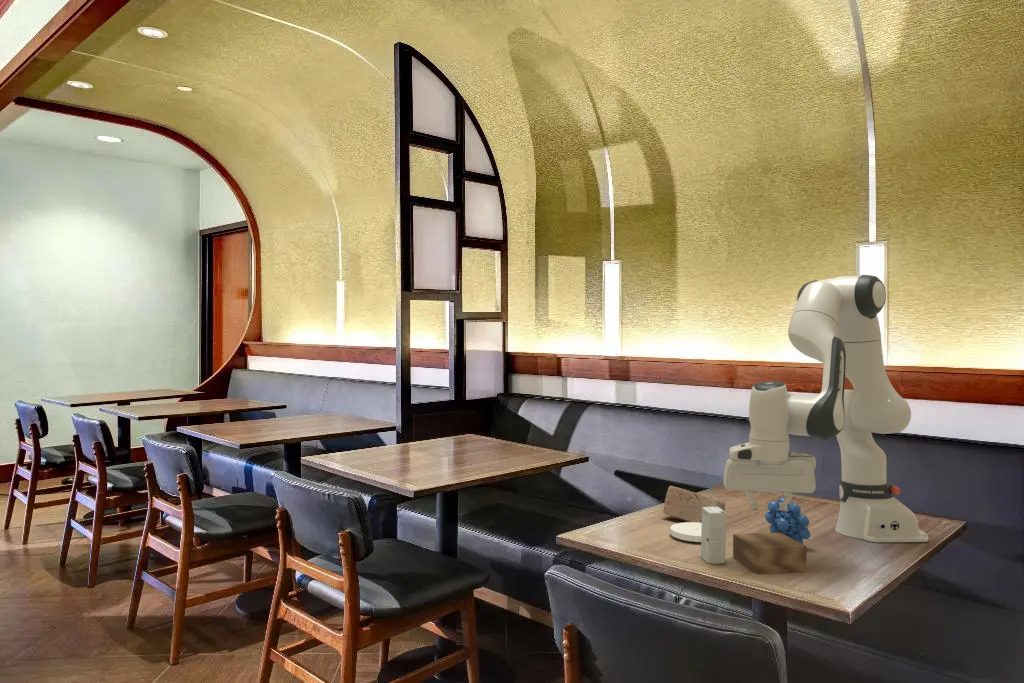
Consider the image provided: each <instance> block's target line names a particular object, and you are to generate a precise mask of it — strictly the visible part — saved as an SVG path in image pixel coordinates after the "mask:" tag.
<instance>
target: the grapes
mask: <svg viewBox="0 0 1024 683" xmlns="http://www.w3.org/2000/svg"><path fill="white" fill-rule="evenodd" d="M785 498H786V497H779V498H778V499H777V501H776V502H775V501H773V500H771V501H769V502H768V503H767V508H768V511H766V513H764V518H765V521H766V522H767V523H768V524H770V526H769V533H774V532H781V533H783V534H784V535H786V536H788V537H790V538H792V539H794V540H795V541H797V542H799V543H801V544H803V545H804V540H806V541H807V540H809V539H810V538H811V532H810V530H809V528H807V527H808V526H809V525H810V519H809V518H808V516H807V515H805V514H804V513H801V512H802V509H801V507H800V505H799V504H798V503H795V502H794V501H793V502H789V503H788V504H787V512H786V511H780V510H779V507H780V505H779V502H783V501H784V500H785Z"/></svg>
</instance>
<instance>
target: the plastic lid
mask: <svg viewBox="0 0 1024 683" xmlns="http://www.w3.org/2000/svg"><path fill="white" fill-rule="evenodd" d="M701 531H702V523H698V522H689V521H686V522H677V523H674V524H672V525H670V526H669V535H671V536H672V537H673V538H675V539H678V540H682V541H686V542H695V543H701Z"/></svg>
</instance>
